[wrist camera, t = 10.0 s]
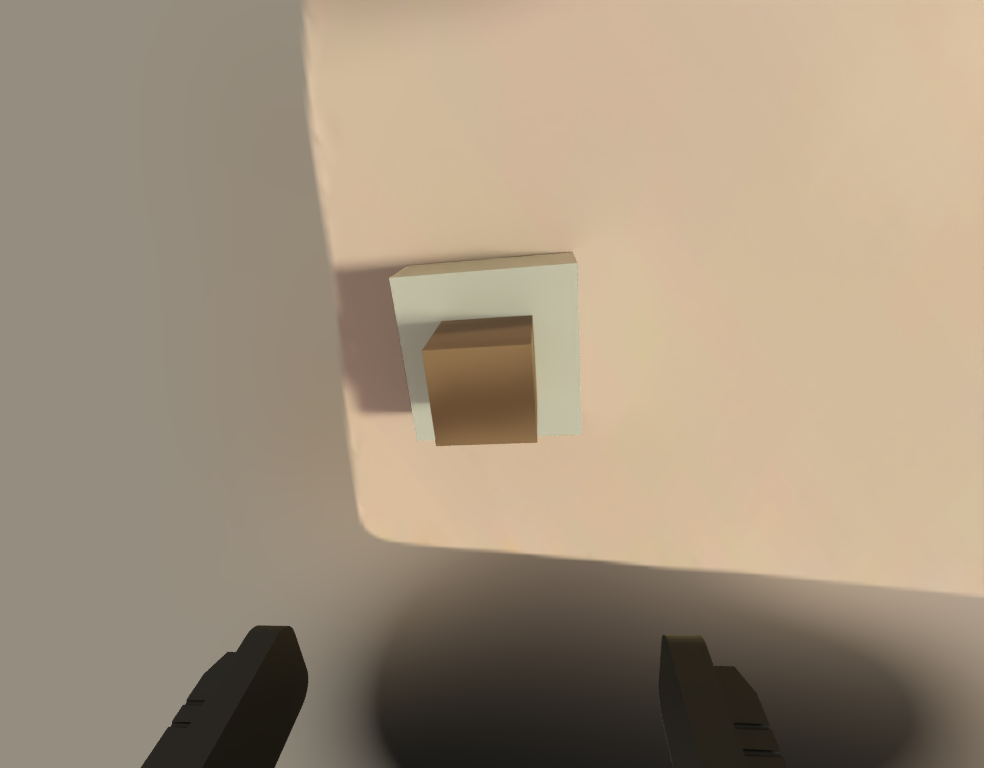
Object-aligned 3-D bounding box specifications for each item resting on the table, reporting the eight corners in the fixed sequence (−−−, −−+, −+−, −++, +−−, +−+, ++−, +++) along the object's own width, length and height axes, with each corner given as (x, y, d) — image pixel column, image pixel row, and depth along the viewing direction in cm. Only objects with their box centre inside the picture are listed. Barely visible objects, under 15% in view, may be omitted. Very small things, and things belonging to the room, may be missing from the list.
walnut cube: (441, 321, 27) (421, 350, 22) (532, 315, 26) (531, 344, 22) (452, 403, 29) (436, 446, 24) (537, 399, 28) (537, 442, 24)
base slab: (407, 265, 30) (389, 277, 26) (572, 252, 29) (577, 262, 25) (430, 412, 34) (417, 440, 30) (577, 405, 32) (581, 434, 29)
